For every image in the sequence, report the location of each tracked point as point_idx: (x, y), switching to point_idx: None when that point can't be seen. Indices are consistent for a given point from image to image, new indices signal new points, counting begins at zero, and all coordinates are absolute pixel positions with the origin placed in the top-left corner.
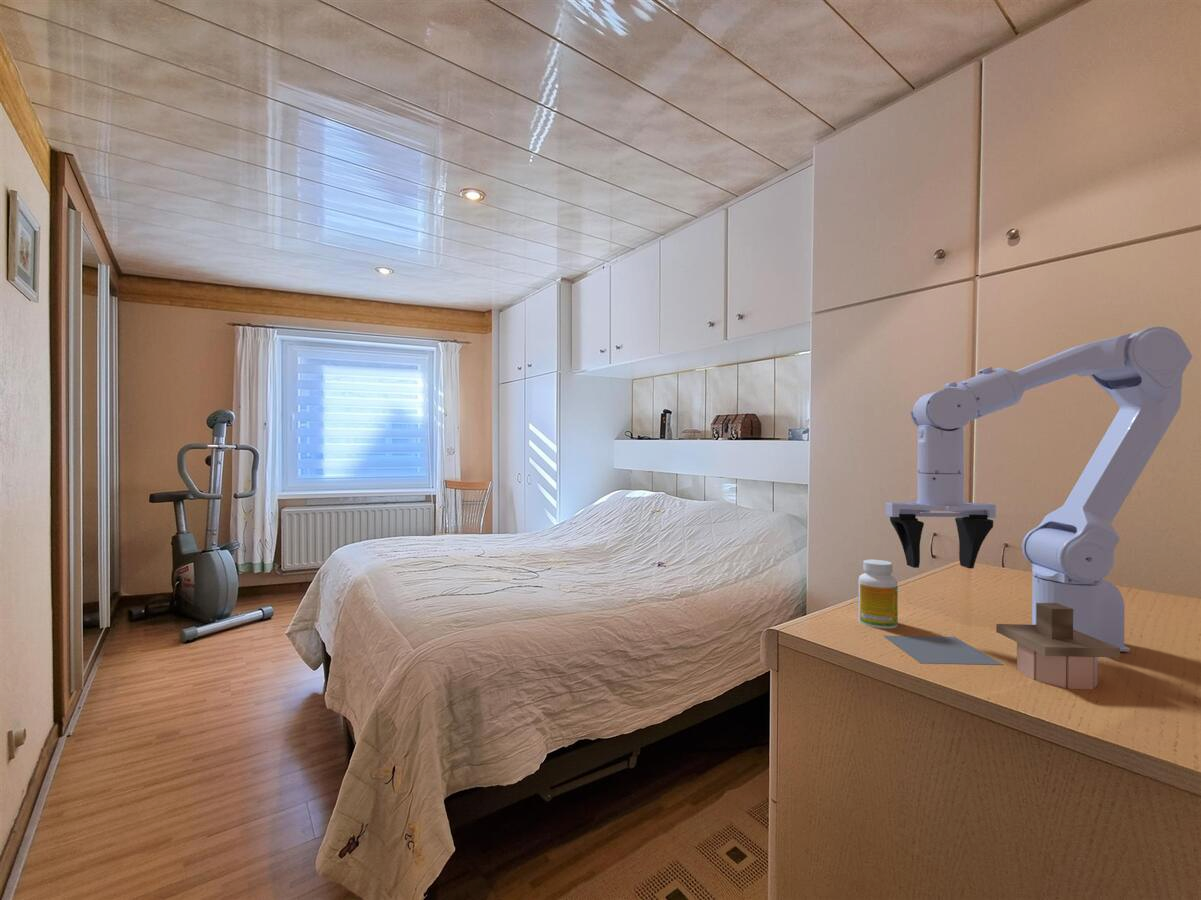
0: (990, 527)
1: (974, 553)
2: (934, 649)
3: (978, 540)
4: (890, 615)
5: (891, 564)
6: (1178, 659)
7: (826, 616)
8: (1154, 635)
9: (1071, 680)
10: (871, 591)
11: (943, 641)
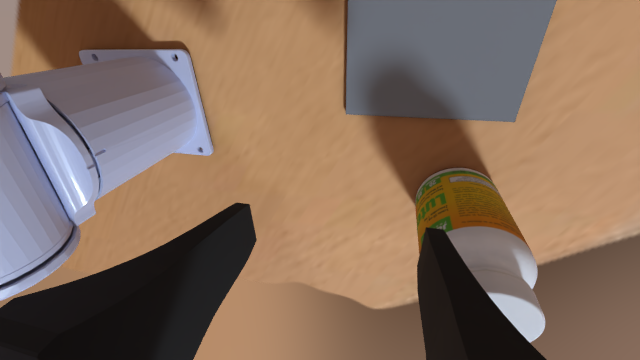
0: (32, 298)
1: (205, 229)
2: (453, 22)
3: (152, 262)
4: (457, 182)
5: None
6: (31, 23)
7: None
8: None
9: None
10: (519, 233)
11: (390, 83)
